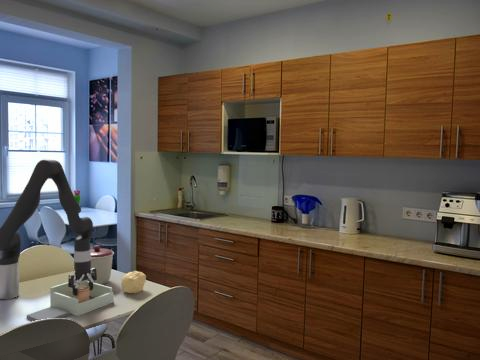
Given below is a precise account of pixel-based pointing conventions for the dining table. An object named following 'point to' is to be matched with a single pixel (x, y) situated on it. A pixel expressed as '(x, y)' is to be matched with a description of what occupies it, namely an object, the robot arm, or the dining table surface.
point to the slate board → (47, 314)
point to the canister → (101, 263)
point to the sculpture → (133, 282)
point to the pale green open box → (67, 301)
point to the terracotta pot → (83, 293)
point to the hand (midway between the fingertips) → (83, 292)
